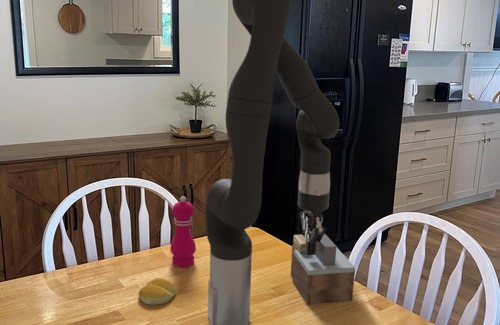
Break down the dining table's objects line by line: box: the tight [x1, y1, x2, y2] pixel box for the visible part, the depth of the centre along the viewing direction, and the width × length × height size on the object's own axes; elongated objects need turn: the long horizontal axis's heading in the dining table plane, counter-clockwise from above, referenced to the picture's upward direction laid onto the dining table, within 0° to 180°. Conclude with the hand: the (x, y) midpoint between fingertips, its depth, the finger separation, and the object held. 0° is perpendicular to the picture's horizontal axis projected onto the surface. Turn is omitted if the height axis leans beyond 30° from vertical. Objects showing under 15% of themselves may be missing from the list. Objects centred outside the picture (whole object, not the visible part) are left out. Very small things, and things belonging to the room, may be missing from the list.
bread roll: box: [138, 277, 176, 306], centre depth 123 cm, size 8×9×4 cm
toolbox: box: [290, 244, 356, 306], centre depth 129 cm, size 12×15×9 cm
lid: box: [294, 233, 356, 275], centre depth 126 cm, size 12×12×7 cm
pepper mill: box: [170, 195, 197, 268], centre depth 140 cm, size 7×7×20 cm
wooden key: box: [292, 234, 307, 253], centre depth 131 cm, size 2×6×2 cm, turn 12°
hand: (310, 254), depth 125 cm, fingers closed
